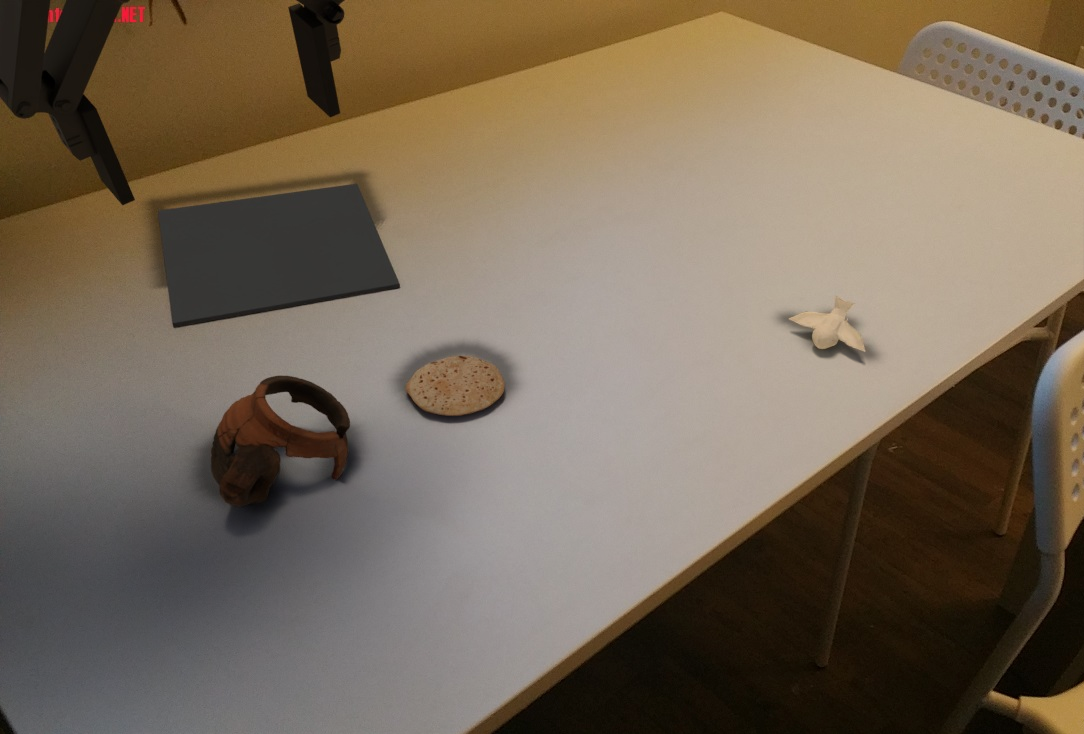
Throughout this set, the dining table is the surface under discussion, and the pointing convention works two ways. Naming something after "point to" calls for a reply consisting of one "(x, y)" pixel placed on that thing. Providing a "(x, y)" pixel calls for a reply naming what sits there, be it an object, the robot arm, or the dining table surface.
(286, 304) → the placemat
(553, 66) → the dining table surface
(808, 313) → the white bird figurine
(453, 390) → the flatbread
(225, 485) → the broken brown clay pot
